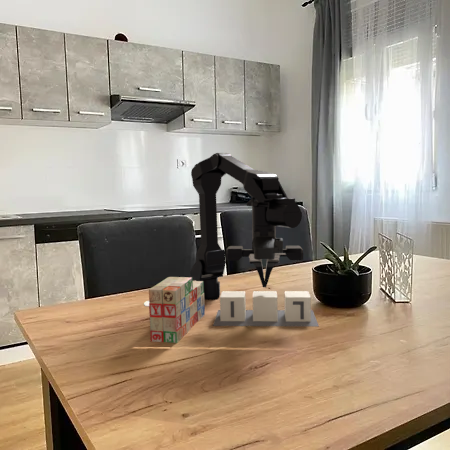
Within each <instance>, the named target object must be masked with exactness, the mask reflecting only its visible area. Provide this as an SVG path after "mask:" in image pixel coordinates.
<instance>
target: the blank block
mask: <svg viewBox="0 0 450 450" xmlns="http://www.w3.org/2000/svg"><path fill="white" fill-rule="evenodd" d="M277 292H278V291H277V290H261V291H260V290H258V291H257V290H256V291H255V290H253V292H252V310H253V321H278V310H279V309H278V307H279V306H278V293H277Z"/></svg>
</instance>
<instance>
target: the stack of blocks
mask: <svg viewBox="0 0 450 450" xmlns="http://www.w3.org/2000/svg"><path fill="white" fill-rule="evenodd" d="M148 301H149V310H148V311H149V313H148V314H149V327H150V328H149V329H150V330H149V331H150V333H149V335H150V336H149V337H150V342H157V343H158V342H159V343H173V344H178V343H179V342H180V341H181V340H182V339H183V338H184V337H185V336H186V335H187V334H188V333H189V332H190V331H191V329H192V328H193V327H194V326H195V324H197V322H199V321H200V320H201V319H203V317H204V316H205V313H206V311H205V303H206V302H205V300H204V284H203V281H196V280H194V279H192V277H191V276H189V277H185V276H180V277H179V276H168V277H166V278H165V279H163V280H162V281H160V282H158V283H157V284H156V285H154V286H152V287H150V288H149V289H148Z"/></svg>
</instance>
